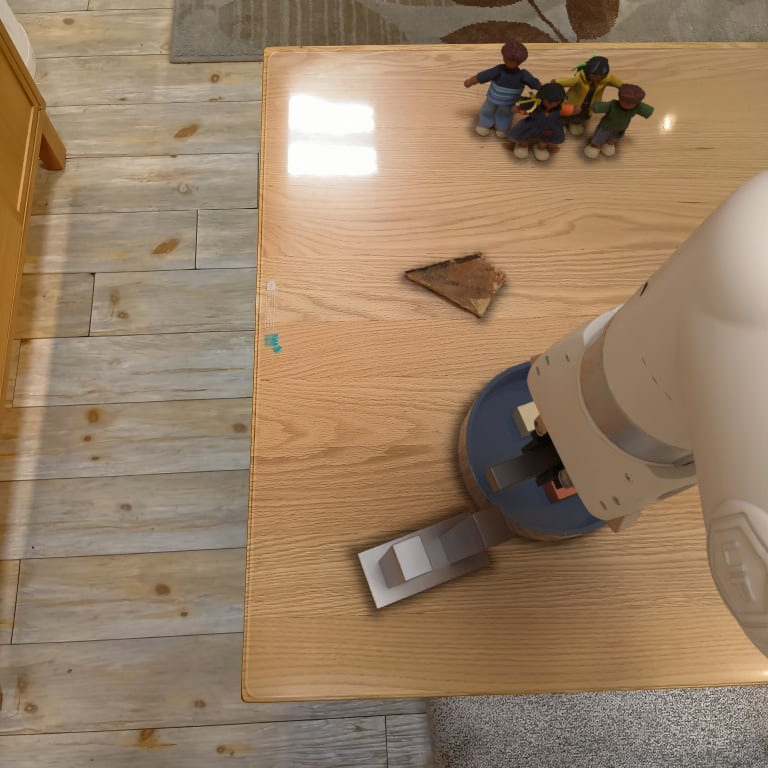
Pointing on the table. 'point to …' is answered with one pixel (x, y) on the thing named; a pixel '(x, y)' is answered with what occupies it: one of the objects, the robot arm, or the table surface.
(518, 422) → the cream block
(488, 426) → the bowl
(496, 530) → the stick stand
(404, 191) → the table surface
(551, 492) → the terracotta block
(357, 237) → the table surface
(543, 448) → the stirring stick
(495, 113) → the doll family
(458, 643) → the table surface
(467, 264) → the shard
